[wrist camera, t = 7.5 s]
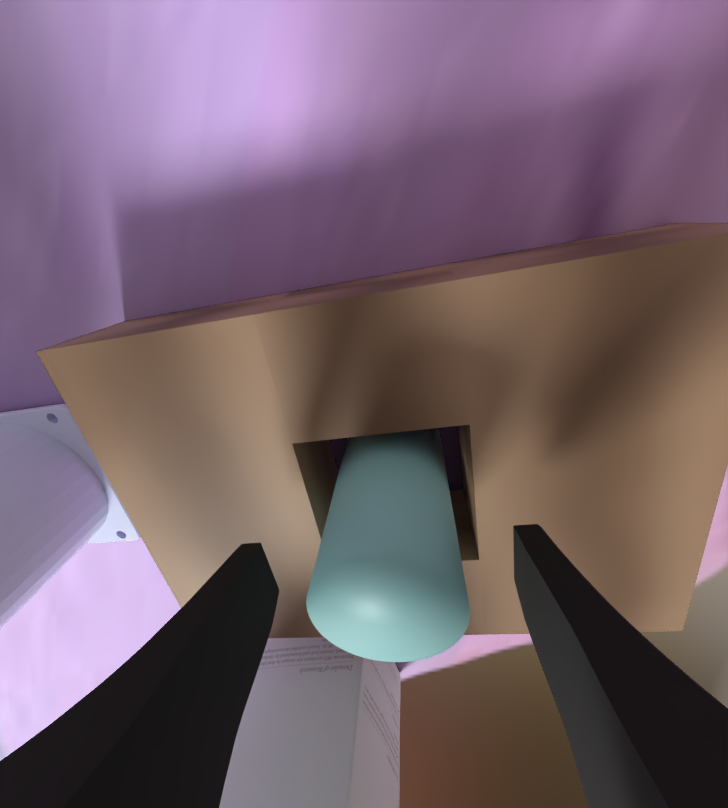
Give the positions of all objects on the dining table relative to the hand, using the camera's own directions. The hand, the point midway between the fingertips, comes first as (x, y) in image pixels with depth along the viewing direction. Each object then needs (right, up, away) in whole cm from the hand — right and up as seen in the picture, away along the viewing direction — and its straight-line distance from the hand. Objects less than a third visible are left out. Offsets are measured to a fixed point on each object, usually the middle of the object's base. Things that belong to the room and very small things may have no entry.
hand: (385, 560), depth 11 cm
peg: (+1, +3, +6) cm, 6 cm away
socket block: (+1, +3, +6) cm, 6 cm away
